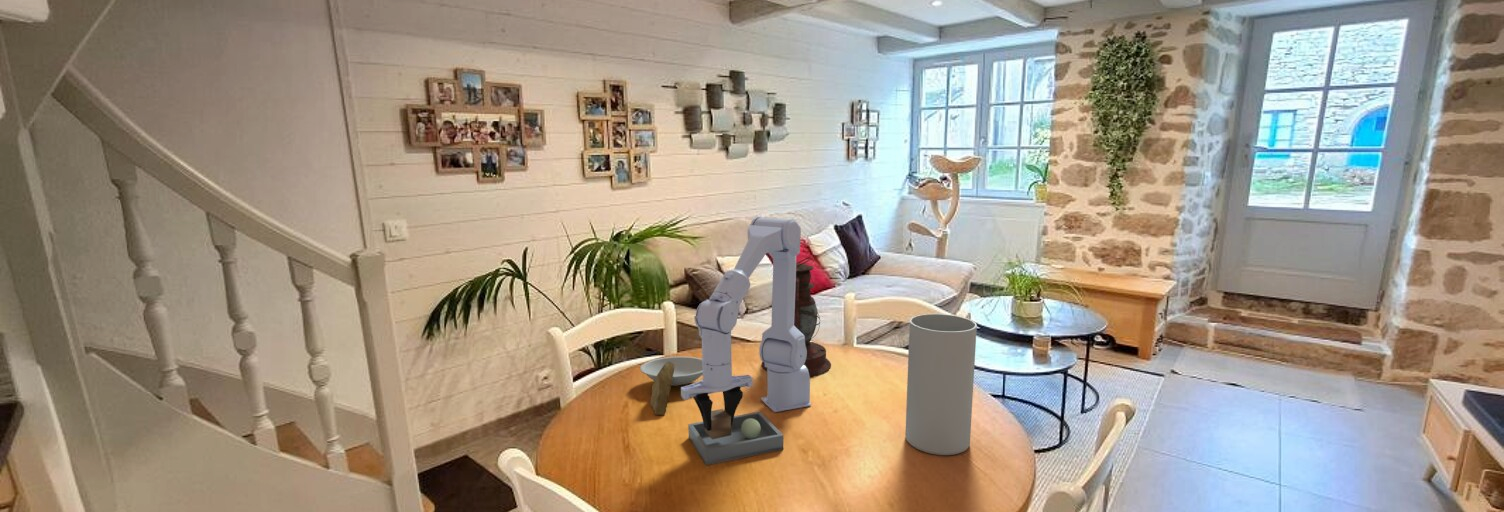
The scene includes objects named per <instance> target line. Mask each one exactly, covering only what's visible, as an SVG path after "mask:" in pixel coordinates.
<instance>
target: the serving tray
mask: <svg viewBox="0 0 1504 512" xmlns="http://www.w3.org/2000/svg"><path fill="white" fill-rule="evenodd" d="M750 418H752V419H755V420H757V421H758V422H759V424H760V427H761V431H760V434H759V435H758V436H757V437H756V438H753V439H748V438H746V437H745V436H744V435H743V434H742V432H741V426H742V423H743V422H744V421H745V420H747V419H750ZM687 425H688V427H687V428H688V439H689V441H690V442H691V444H692V446H693V447H694V448H695V450H696V451H697V453H698V455H699V457H700V458H701V459H702V461H703V463H704V464H705V466H711V465H715V464H719V463H723V462H729V461H734V460H738V459H743V458H749V457H754V456H757V455H758V456H759V455H763V454H768V453H772V452H778V451H783V450H784V434H783V433H782V432H781V431H780V430H779V429H778V428H777V427H776V426H775V425H774V424H773V422H771V421H770V420H769V419H768V418H767V417H766V416H765V415H764V413H763V412H761V411H755V412H750V413H744V414H738V415H734V418H733V423H732V426H731V435H730V436H726V437H721V438H717V439H713V440H712V438H711V437H710V436H709V435H708V434H707V433H706V432H705V427H704V423H703V421H698V422H694V423H688V424H687Z"/></svg>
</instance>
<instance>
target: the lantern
mask: <svg viewBox="0 0 1504 512" xmlns="http://www.w3.org/2000/svg"><path fill="white" fill-rule="evenodd" d="M811 259H812V257H811V256H810V257H806V258H804V259H802V260H800V261H798V262H796V283H795V314H794V326H795V327H796V328H797V329H798V330H799V331H800V332H801V333H802V334H803V335H804V336H805V346H806V349H807V357H806V361H805V363H804V365H805V366H806V367H807V369H808V372H809V376H810V378H813V377H817V376H821V375H824V374H826V373H828V372H829V371H830V370H831V369H832V363H831V361H830V360H829V359H828V358H827V349H826V348H825V347H824V346H823V345H821V344H819V343H817V342H814V341H812V339H813V338H814V337H815V336H817V334H818V332H819V329H820V325H821V318H820V314H819V312H818V307H817V304H816V301H815V299H814V297H813V296H812V295H811V289H813V288H814V287H815V284H813V283H812V282H811V280H812V275H811V271H812V270H814V266H812V265H809V264H806V263H807V262H809V261H811ZM818 319H819V322H818ZM817 326H818V329H817V331H816V328H817ZM815 331H816V333H815ZM814 334H815V335H814ZM762 367H763V368H762ZM761 368H762V369H763V370H764V371H765V372H767V367H765V363H764V362H763V361H762V360H761ZM829 369H830V370H829ZM828 370H829V371H828ZM827 371H828V372H827Z"/></svg>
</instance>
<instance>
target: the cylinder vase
mask: <svg viewBox="0 0 1504 512" xmlns="http://www.w3.org/2000/svg"><path fill="white" fill-rule="evenodd" d="M977 328H978V327H977V323H976V322H975V321H973V320H972V319H970V318H967V317H963V316H960V315H959V316H958V315H956V314H955V315H953V314H944V313H924V314H919V315H915V316H912V317H910V319H909V328H908V353H907V354H908V356H907V359H908V360H907V378H906V379H907V382H906V408H905V431H904V432H905V439H906V441H907V442H908V443H909V445H911V446H912V448H915V449H917V450H919V451H921V452H924V453H926V454H927V453H928V454H931V455H936V456H953V455H958V454H961V453H963V452H965V451H966V450H968V448H969V447H970V445H971V435H972V434H971V433H972V432H971V429H972V416H973V415H972V413H973V401H974V400H973V396H974V381H975V379H974V378H975V363H976V361H975V360H976V344H977V343H976V342H977V332H978V330H977Z"/></svg>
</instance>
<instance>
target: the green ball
mask: <svg viewBox="0 0 1504 512" xmlns="http://www.w3.org/2000/svg"><path fill="white" fill-rule="evenodd" d="M760 431H761V427H760V424H759V422H758V421H757V420H755V419H752V418H750V419H747V420H745V421H744V422H743V423H742V426H741V432H742V434H743V435H744V436H745V437H746V438H748V439H753V438H756V437H757V436H758V435H759V434H760Z"/></svg>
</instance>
